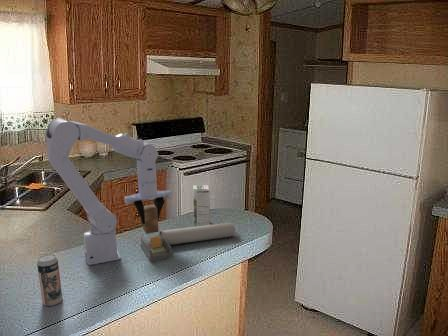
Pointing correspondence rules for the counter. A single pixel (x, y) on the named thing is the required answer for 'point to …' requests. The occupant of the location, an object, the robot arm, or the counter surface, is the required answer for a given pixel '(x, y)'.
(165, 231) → the tube
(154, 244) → the switch knob
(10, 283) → the counter surface
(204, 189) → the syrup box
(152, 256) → the grey open tray
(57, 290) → the beer can
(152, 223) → the walnut peg
